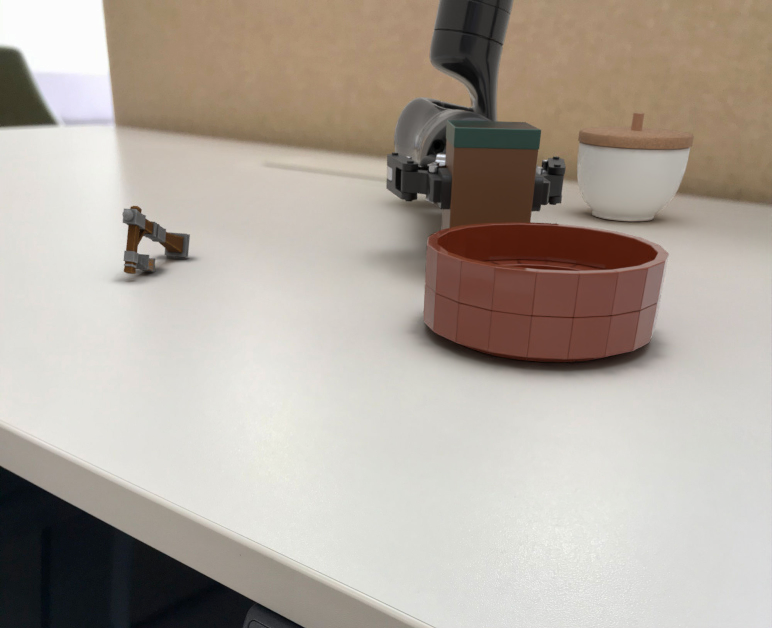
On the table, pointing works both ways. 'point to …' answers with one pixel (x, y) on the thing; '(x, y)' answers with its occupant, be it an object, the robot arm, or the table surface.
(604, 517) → the table surface
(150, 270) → the wooden post with brackets
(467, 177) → the tea box
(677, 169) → the trinket box
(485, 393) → the table surface
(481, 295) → the bowl
